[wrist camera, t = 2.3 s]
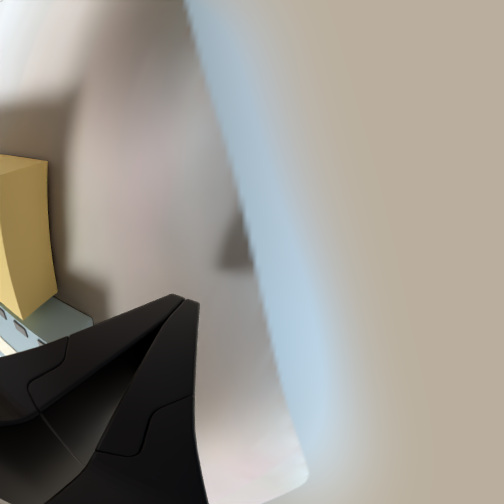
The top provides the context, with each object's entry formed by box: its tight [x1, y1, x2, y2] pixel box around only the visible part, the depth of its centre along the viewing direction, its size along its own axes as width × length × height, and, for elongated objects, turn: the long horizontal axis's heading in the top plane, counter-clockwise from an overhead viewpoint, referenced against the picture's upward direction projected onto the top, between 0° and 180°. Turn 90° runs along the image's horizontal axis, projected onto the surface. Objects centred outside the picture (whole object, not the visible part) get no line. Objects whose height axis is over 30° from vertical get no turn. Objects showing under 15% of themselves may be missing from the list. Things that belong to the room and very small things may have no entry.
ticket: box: [0, 296, 93, 357], centre depth 12 cm, size 8×14×3 cm, turn 77°
